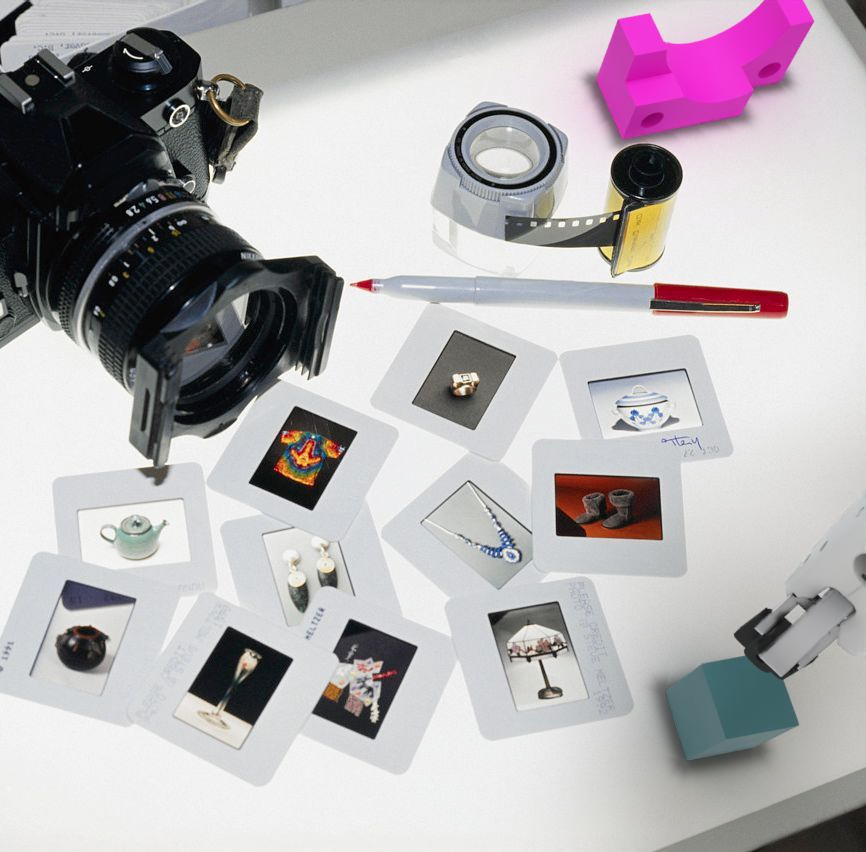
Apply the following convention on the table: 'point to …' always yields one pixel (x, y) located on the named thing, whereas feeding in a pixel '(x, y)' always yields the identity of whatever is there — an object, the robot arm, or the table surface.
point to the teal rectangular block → (729, 708)
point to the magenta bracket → (696, 68)
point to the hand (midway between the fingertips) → (818, 593)
